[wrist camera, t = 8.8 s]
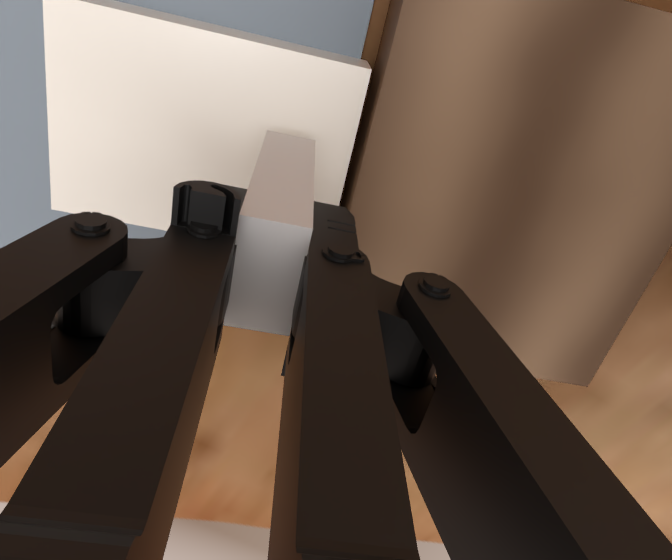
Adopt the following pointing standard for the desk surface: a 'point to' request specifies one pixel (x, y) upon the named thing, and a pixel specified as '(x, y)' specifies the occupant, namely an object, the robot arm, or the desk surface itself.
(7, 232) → the mat
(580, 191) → the deck
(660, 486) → the desk surface
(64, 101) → the tile
